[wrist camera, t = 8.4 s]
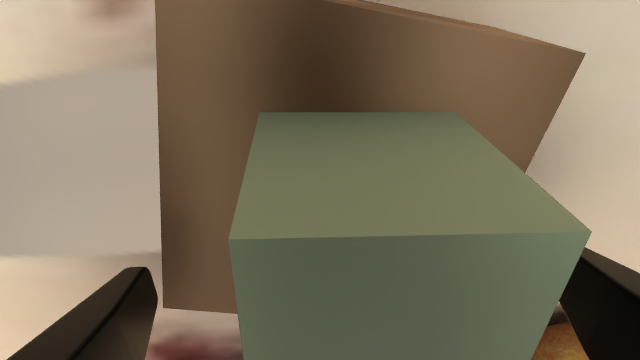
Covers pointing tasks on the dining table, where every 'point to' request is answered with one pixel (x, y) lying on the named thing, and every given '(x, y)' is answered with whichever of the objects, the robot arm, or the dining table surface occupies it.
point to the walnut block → (317, 101)
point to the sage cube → (393, 242)
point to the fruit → (559, 344)
